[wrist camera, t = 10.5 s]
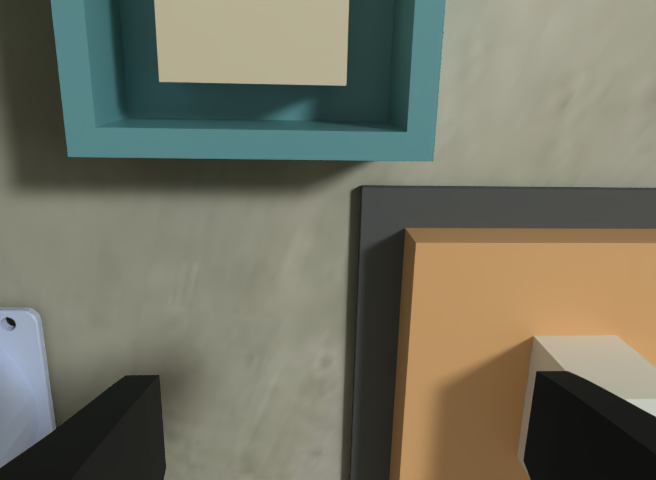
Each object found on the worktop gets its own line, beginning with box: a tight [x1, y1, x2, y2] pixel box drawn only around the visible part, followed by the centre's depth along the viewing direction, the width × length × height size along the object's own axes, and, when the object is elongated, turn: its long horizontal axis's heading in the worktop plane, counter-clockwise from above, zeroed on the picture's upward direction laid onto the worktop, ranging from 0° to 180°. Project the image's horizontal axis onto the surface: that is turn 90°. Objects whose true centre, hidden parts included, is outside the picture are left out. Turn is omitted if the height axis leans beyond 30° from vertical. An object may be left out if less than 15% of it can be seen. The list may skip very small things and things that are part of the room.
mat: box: [350, 185, 656, 480], centre depth 23 cm, size 15×15×1 cm
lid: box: [389, 228, 656, 480], centre depth 20 cm, size 12×12×6 cm
